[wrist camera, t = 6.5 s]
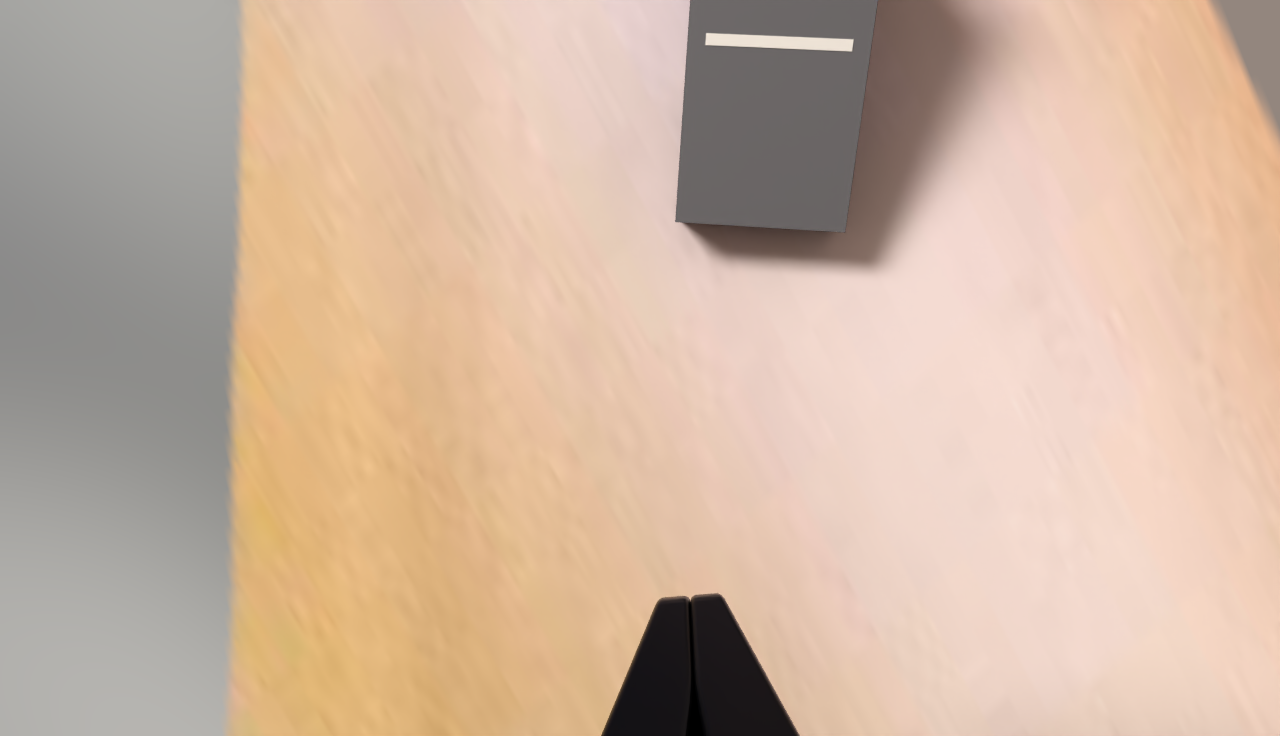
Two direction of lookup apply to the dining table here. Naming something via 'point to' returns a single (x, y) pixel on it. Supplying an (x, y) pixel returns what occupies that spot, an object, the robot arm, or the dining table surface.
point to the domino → (773, 111)
